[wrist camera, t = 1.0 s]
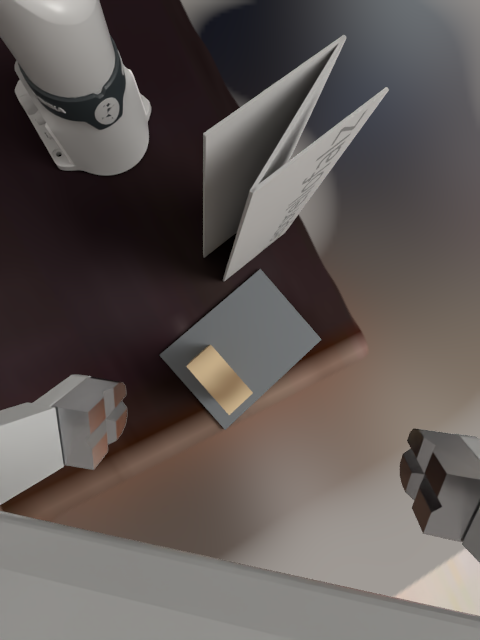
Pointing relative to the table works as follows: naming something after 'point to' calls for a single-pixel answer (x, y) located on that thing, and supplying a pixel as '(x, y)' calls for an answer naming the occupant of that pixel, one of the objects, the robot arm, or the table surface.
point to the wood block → (219, 379)
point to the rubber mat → (245, 342)
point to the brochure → (270, 161)
